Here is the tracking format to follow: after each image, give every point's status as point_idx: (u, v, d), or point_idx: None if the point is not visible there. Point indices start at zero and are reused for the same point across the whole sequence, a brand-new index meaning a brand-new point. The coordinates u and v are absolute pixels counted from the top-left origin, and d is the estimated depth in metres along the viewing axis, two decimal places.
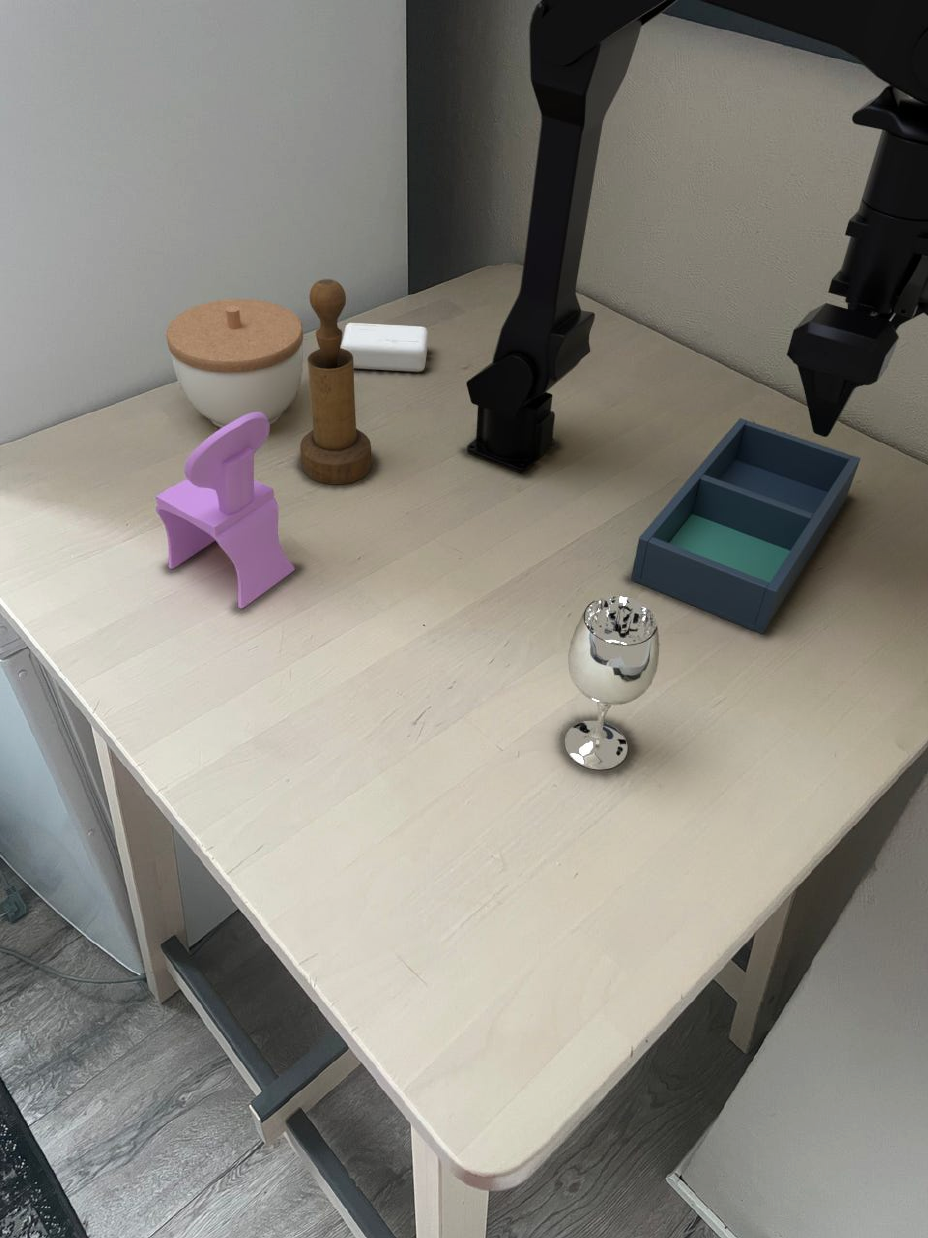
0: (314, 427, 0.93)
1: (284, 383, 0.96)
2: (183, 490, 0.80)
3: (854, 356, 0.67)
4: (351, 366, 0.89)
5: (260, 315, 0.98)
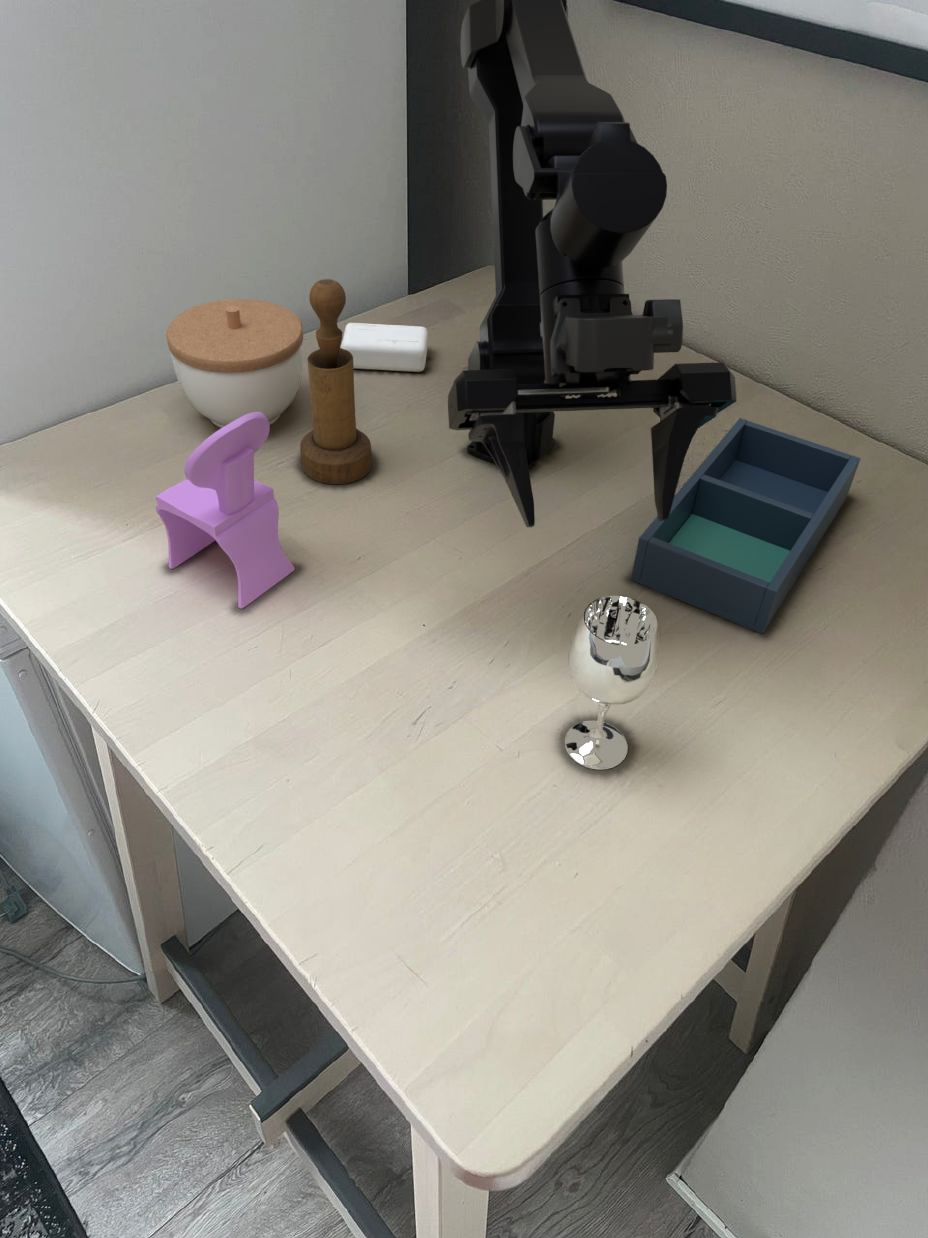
0: (314, 427, 0.93)
1: (284, 382, 0.96)
2: (183, 490, 0.80)
3: (454, 392, 0.67)
4: (351, 366, 0.89)
5: (260, 315, 0.98)
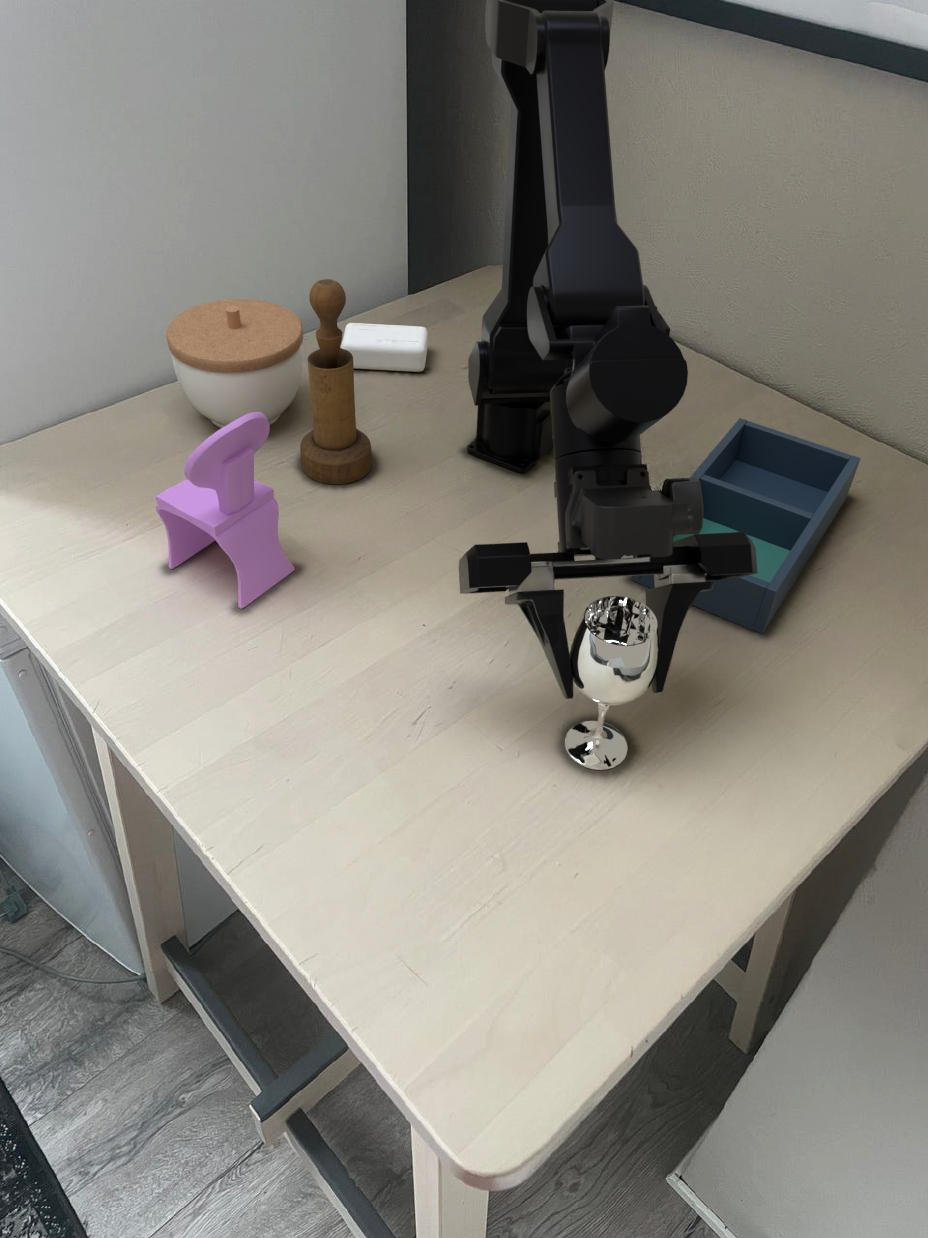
0: (314, 427, 0.93)
1: (284, 382, 0.96)
2: (183, 490, 0.80)
3: (465, 565, 0.65)
4: (351, 366, 0.89)
5: (260, 315, 0.98)
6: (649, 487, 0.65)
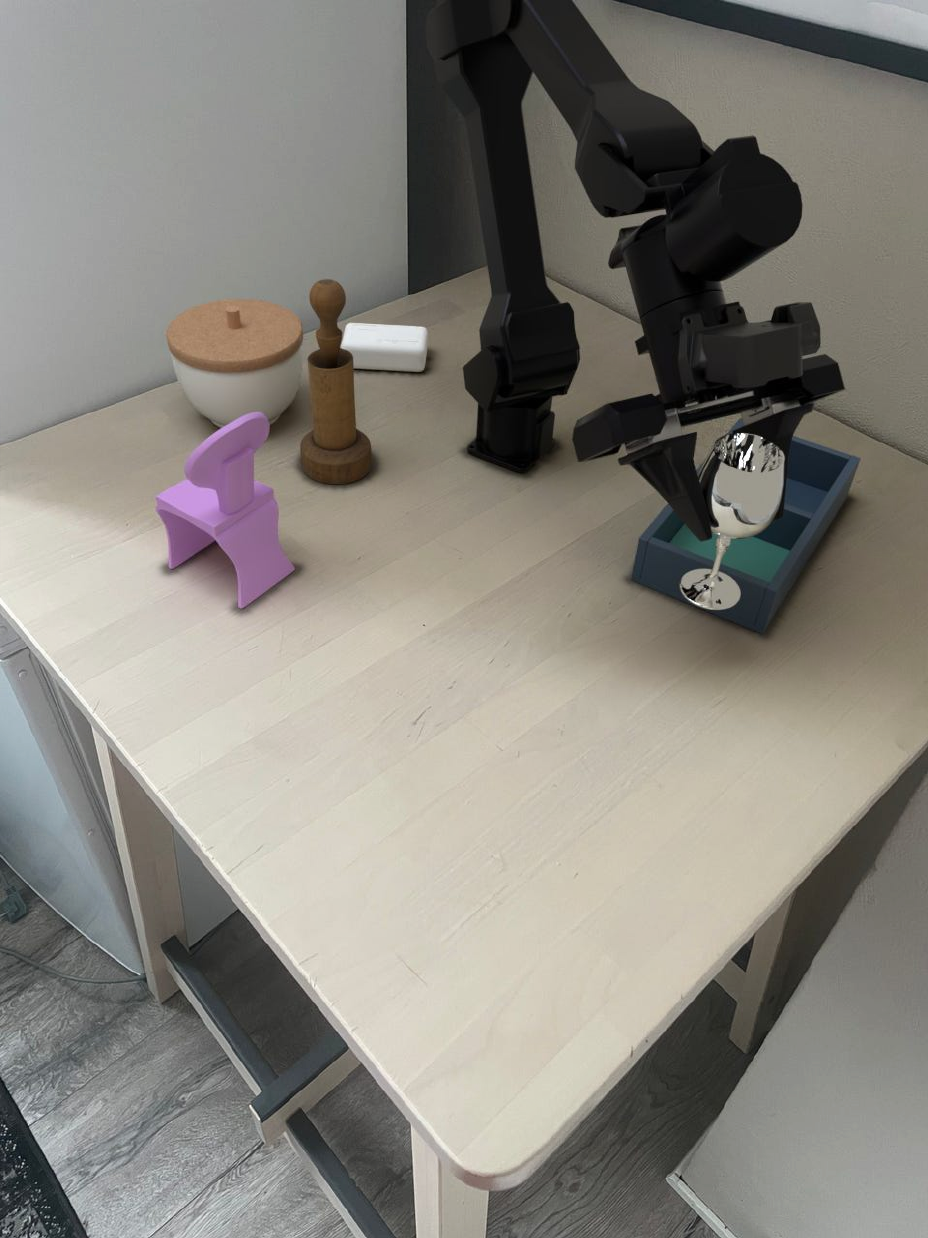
0: (314, 427, 0.93)
1: (284, 382, 0.96)
2: (183, 490, 0.80)
3: (598, 426, 0.65)
4: (351, 366, 0.89)
5: (260, 315, 0.98)
6: (747, 322, 0.67)
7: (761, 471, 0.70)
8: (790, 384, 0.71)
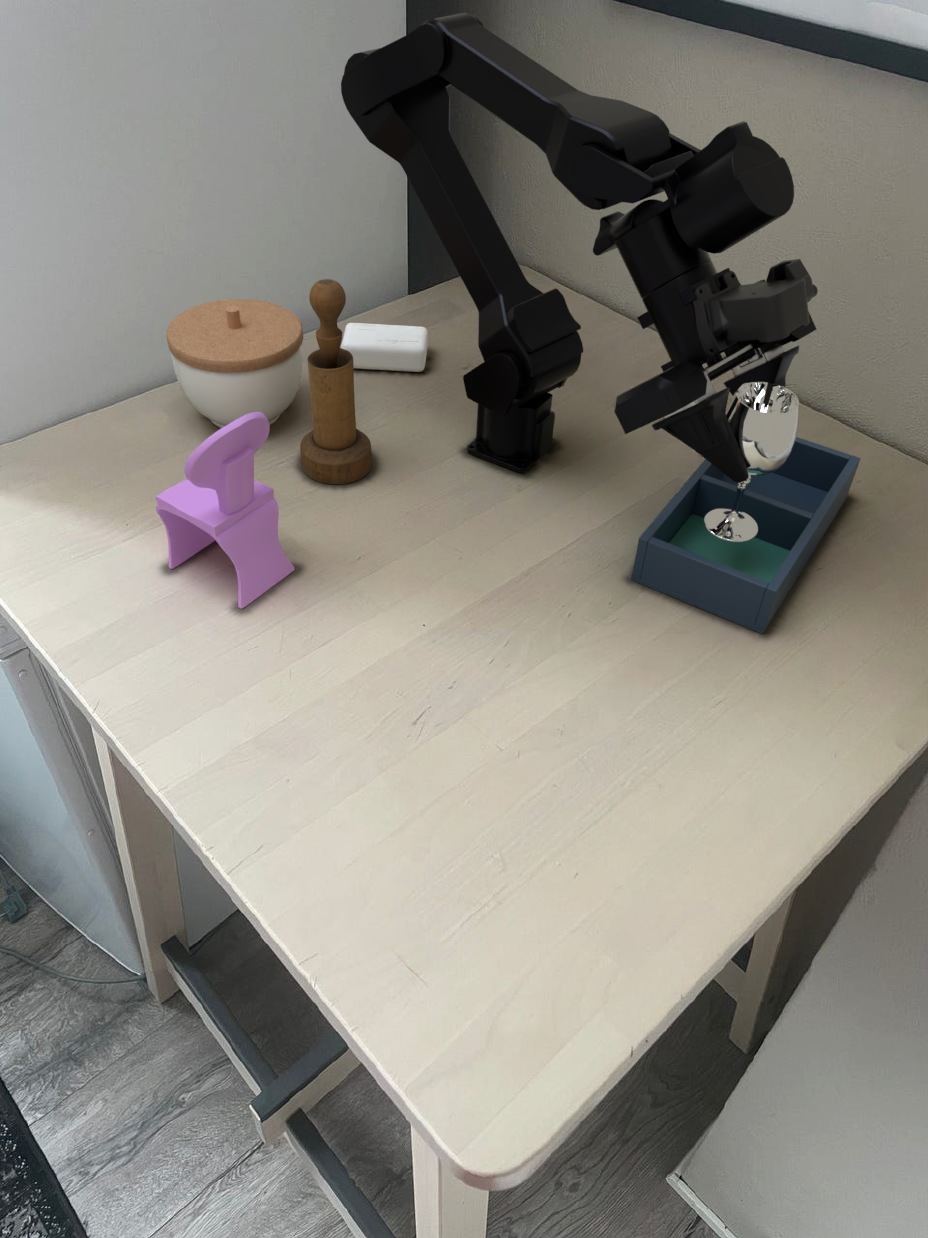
0: (314, 427, 0.93)
1: (284, 382, 0.96)
2: (183, 490, 0.80)
3: (652, 398, 0.72)
4: (351, 366, 0.89)
5: (260, 315, 0.98)
6: (740, 284, 0.76)
7: (766, 412, 0.80)
8: None
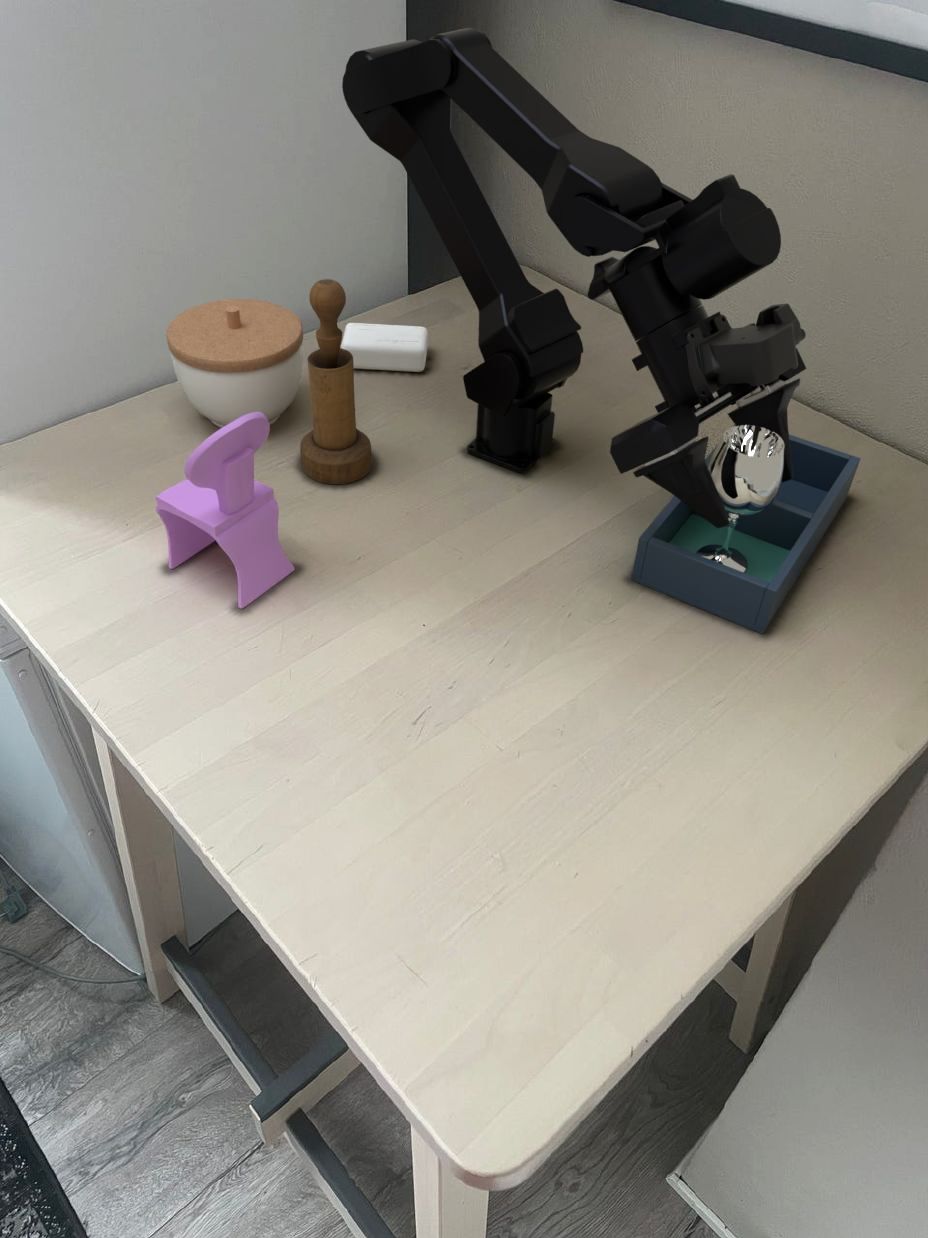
0: (314, 427, 0.93)
1: (284, 382, 0.96)
2: (183, 490, 0.80)
3: (645, 440, 0.74)
4: (351, 366, 0.89)
5: (260, 315, 0.98)
6: (731, 328, 0.79)
7: (754, 453, 0.83)
8: None
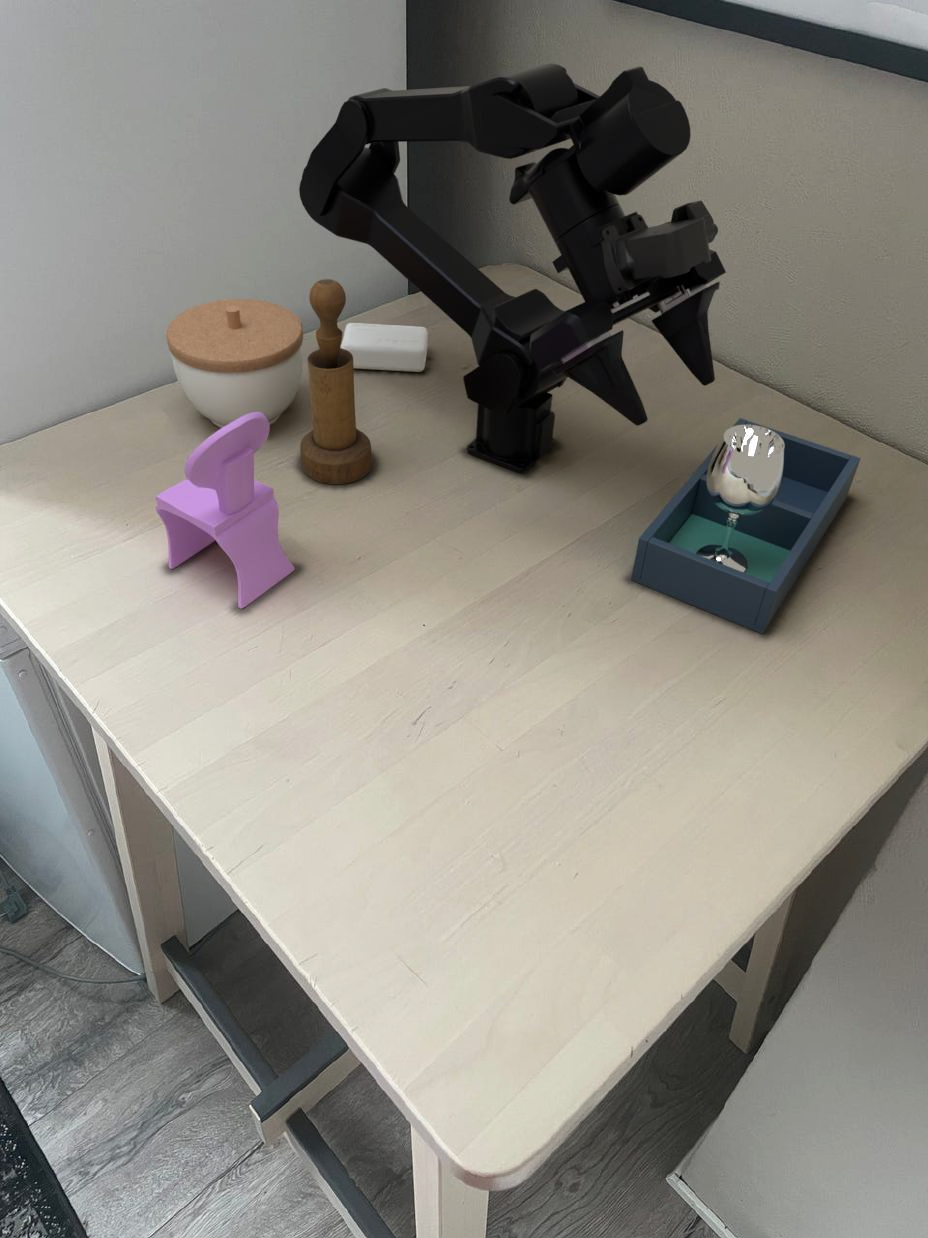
0: (314, 427, 0.93)
1: (284, 382, 0.96)
2: (183, 490, 0.80)
3: (560, 332, 0.76)
4: (351, 366, 0.89)
5: (260, 315, 0.98)
6: (648, 227, 0.80)
7: (754, 453, 0.83)
8: (680, 277, 0.85)
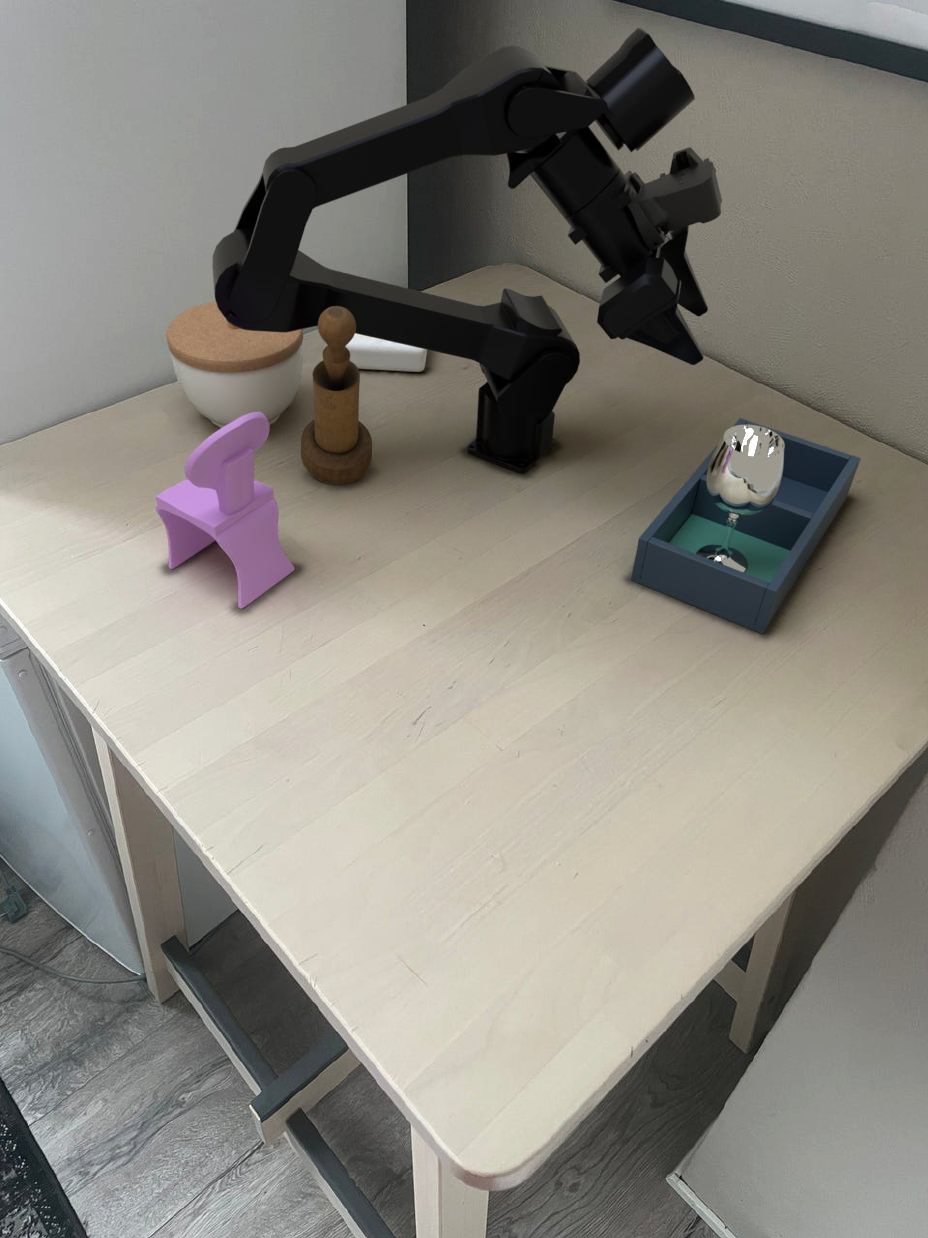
0: (316, 431, 0.91)
1: (284, 382, 0.96)
2: (183, 490, 0.80)
3: (643, 295, 0.78)
4: (357, 384, 0.86)
5: None
6: None
7: (754, 453, 0.83)
8: None
